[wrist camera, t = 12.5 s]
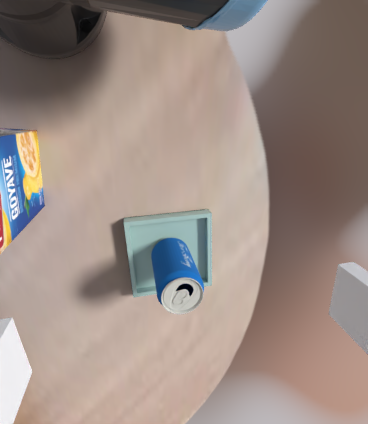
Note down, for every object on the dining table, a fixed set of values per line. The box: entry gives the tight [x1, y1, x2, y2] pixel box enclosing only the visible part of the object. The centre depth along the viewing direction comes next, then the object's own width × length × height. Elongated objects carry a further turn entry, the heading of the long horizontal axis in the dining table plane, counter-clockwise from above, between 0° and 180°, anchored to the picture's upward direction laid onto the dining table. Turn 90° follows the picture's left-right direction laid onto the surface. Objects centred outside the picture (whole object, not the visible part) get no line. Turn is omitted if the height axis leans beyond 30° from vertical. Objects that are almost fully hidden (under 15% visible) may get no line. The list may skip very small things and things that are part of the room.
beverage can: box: [151, 238, 204, 314], centre depth 40 cm, size 6×6×12 cm
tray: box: [124, 209, 212, 297], centre depth 45 cm, size 14×14×2 cm
